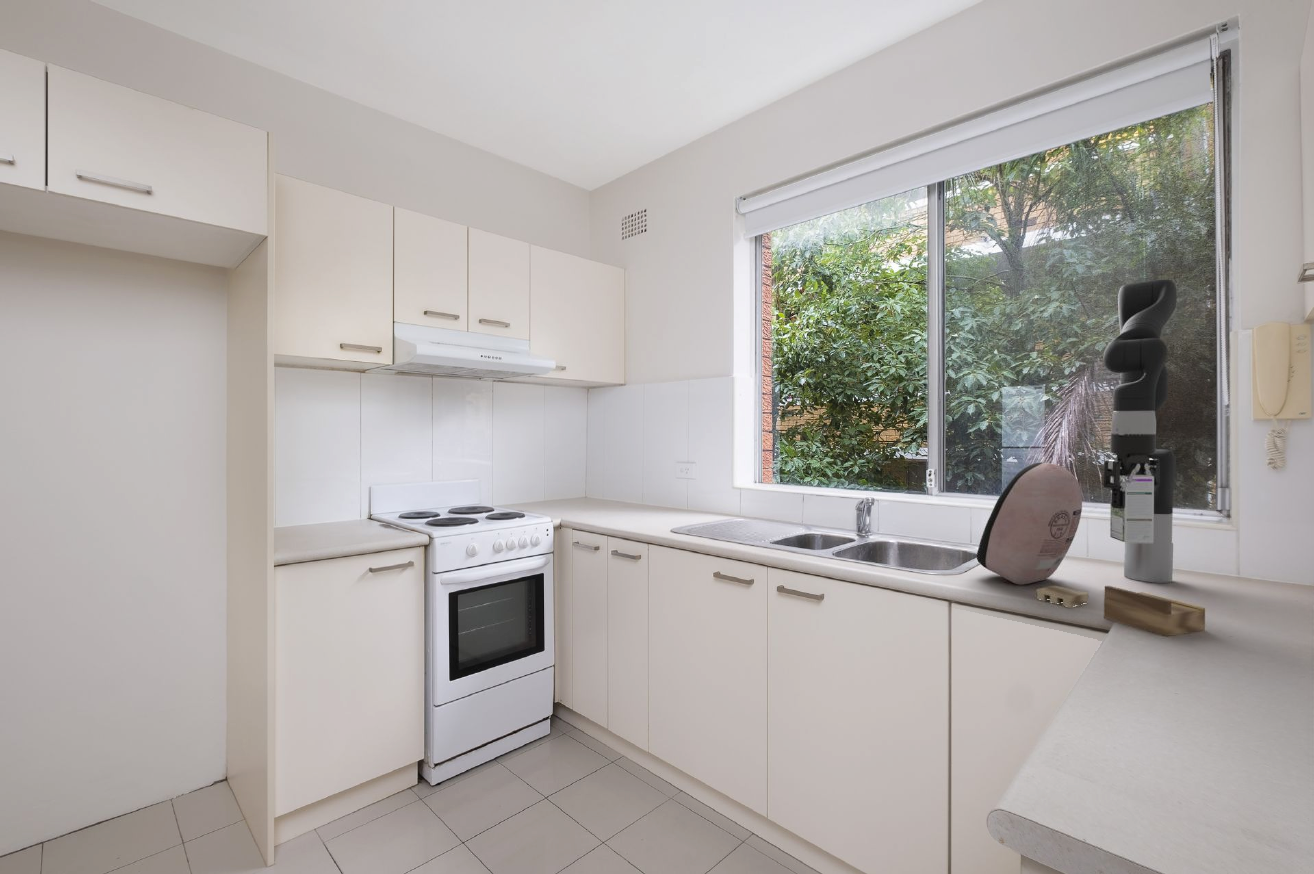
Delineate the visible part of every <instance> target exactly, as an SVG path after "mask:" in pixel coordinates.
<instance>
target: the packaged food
mask: <svg viewBox="0 0 1314 874" xmlns="http://www.w3.org/2000/svg"><path fill="white" fill-rule="evenodd" d="M1082 509H1083V497H1082V490H1081V487H1080V483H1079V481H1078V479H1077V478H1076V476H1075V475H1074V474H1073V473H1072V472H1070V471H1069V470H1067V469H1066V468H1064V467H1062V466H1060V465H1059V464H1055V463H1051V462H1044V461H1043V462H1036V463H1032V464H1030V465H1028V466H1026V467H1024V468H1023V469H1021V470H1020V471H1018V472H1017V474H1015V476H1014V477H1013V478H1012V479H1011V480H1010V482H1009V483H1008V484H1007V486H1006V487H1005V488H1004V490H1003V491H1002V492H1001V494H1000V495H999V497H998V498H997V501H996V502H995V504H994V506H993V509H992V511H991V513H990V515H989V518H988V520H987V522H986V524H985V527H984V530H983V531H982V532H983V533H982V535H981V538H980V541H979V543H978V544H979V545H978V549H977V553H976V560H977V562H978V563H979V564H980V565H981V566H982V567H983V568H985V569H987V570H988V571H990V572H992V573H994V574H997V575H998V576H1000V577H1001V578H1004V579H1006V580H1008V581H1010V582H1011V583H1013V584H1016V585H1018V586H1019V585H1028V584H1033V583H1036V582H1041V581H1044V580H1046V579H1048V578H1050V577H1051V576H1052V575H1053V574H1055V572H1056V571H1057V570H1058V568H1059V566H1060V565H1061V563H1062V562H1063V560H1064V558H1065V557H1066V555H1067V553H1068V551H1069V550H1070V547H1071V546H1072V544H1073V541H1074V539H1075V536H1076V534H1077V531H1078V528H1079V525H1080V520H1081V517H1082V512H1083V510H1082Z"/></svg>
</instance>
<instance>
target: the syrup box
mask: <svg viewBox="0 0 1314 874" xmlns="http://www.w3.org/2000/svg"><path fill="white" fill-rule="evenodd" d="M1120 477H1124V478H1126V476H1121V475H1120ZM1112 480H1113V479H1112V477H1110V482H1112ZM1121 483H1122V482H1120V485H1121ZM1154 491H1155V487H1154V476H1148V475H1134V476H1133V478H1132V482H1131V483H1127V487H1126V489H1125V491H1123V492H1125V508H1124V509H1118V508H1113V507H1112V490H1110V517H1109V518H1110V521H1109V522H1110V524H1109V525H1110V530H1109V531H1110V538H1112V539H1114V540H1117V541H1120V542H1123V543H1125V542H1126V543H1152V544H1153V543H1154Z"/></svg>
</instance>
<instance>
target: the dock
mask: <svg viewBox="0 0 1314 874" xmlns="http://www.w3.org/2000/svg"><path fill="white" fill-rule="evenodd" d="M1103 596H1104V597H1103V598H1104V601H1103V603H1104V604H1103V618H1104V619H1107V620H1110V621H1113V622H1116V623H1121V624H1124V625H1128V626H1130V627H1133V628H1137V629H1141V630H1144V631H1147V632H1150V631H1151V633H1153V632H1154V634H1158V635H1160V634H1161V635H1160V636H1164V637H1171V636H1177V634H1178V635H1184V634H1190V633H1195V632H1203V631H1205V630H1206V629H1205V628H1206V626H1205V625H1206V608H1205V607H1204V606H1203V607H1202V606H1198V605H1195V604H1189V603H1187V602H1182V601H1178V600H1174V599H1169V598H1165V597H1163V596H1157V595H1154V594H1150V593H1145V592H1142V591H1141V592H1135V591H1132V590H1128V589H1125V588H1124V589H1123V588H1120V587H1116V586H1111V585H1105V586H1104V595H1103Z"/></svg>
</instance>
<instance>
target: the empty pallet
mask: <svg viewBox="0 0 1314 874" xmlns="http://www.w3.org/2000/svg"><path fill="white" fill-rule="evenodd" d="M1036 594H1037V598H1036V599H1041V600H1043V601H1042V602H1046V601H1045V600H1047V599H1050V600H1049V603H1050V602H1052V603H1056V604H1057V603H1061V602H1063V603H1062V606H1063V605H1064V606H1067V607H1066V608H1068V607H1069V608H1068V609H1072V608H1074V607H1073V606H1075V605H1080V606H1082V605H1081V604H1083V603H1087V604H1088V597H1089V593H1088V592H1085V591H1079V590H1075V589H1071V588H1066V587H1062V586H1058V585H1050V586H1046V587H1042V588H1037V589H1036ZM1052 603H1051V604H1052ZM1056 604H1055V605H1056ZM1064 606H1063V607H1064ZM1071 607H1072V608H1071Z"/></svg>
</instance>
